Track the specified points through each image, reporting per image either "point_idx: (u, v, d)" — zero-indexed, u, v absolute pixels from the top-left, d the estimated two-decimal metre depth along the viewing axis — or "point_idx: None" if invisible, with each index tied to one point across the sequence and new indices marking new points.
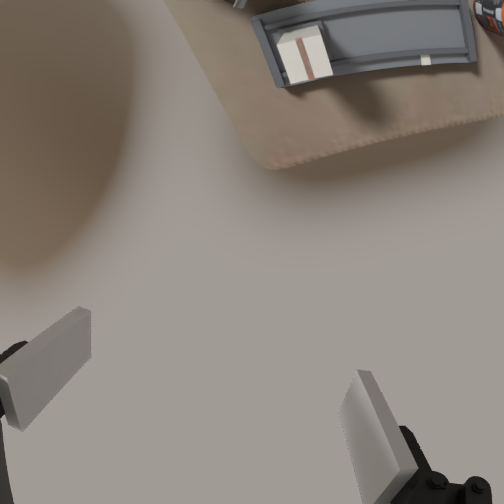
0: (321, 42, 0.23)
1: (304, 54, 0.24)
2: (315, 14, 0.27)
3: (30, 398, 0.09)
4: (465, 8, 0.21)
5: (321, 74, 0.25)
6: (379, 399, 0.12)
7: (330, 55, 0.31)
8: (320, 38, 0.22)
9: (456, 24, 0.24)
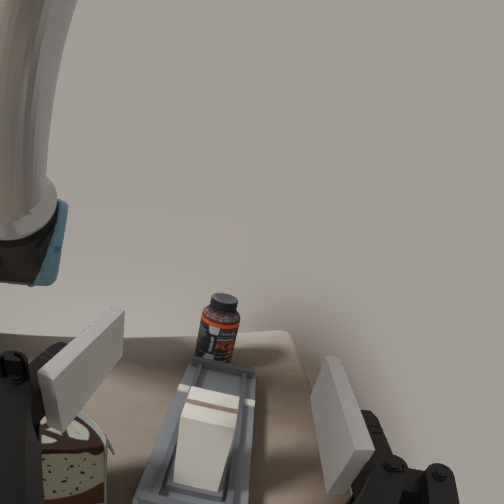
0: (199, 389, 0.24)
1: (205, 404, 0.22)
2: (168, 450, 0.26)
3: (71, 398, 0.10)
4: (206, 360, 0.44)
5: (235, 403, 0.23)
6: (344, 383, 0.12)
7: None
8: (195, 387, 0.24)
9: (219, 374, 0.43)
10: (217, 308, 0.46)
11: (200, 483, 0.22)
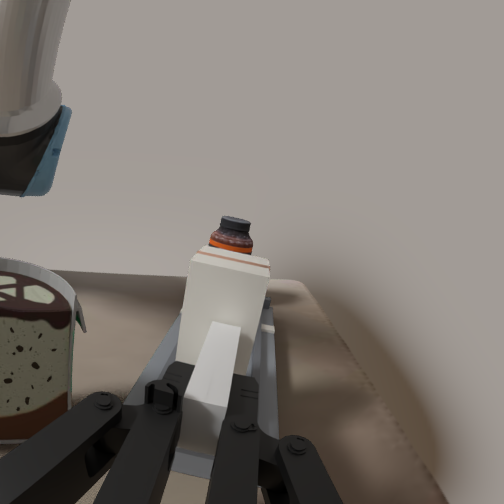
0: (215, 248, 0.20)
1: (224, 257, 0.18)
2: (166, 366, 0.22)
3: None
4: None
5: (264, 262, 0.19)
6: (230, 348, 0.14)
7: None
8: (209, 247, 0.20)
9: None
10: (228, 228, 0.42)
11: None
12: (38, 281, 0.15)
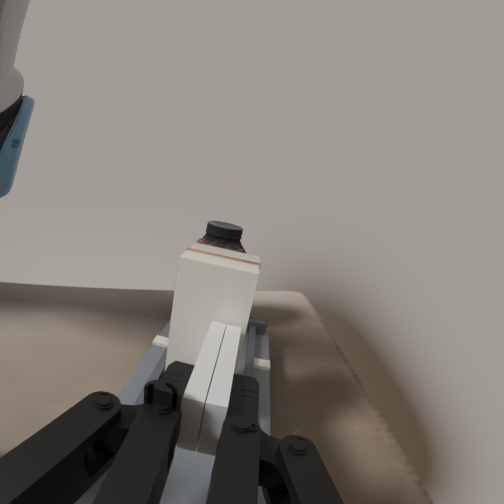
0: (207, 245, 0.19)
1: (215, 254, 0.18)
2: None
3: None
4: None
5: (255, 259, 0.19)
6: (231, 348, 0.14)
7: None
8: (201, 244, 0.20)
9: None
10: (215, 235, 0.34)
11: None
12: None
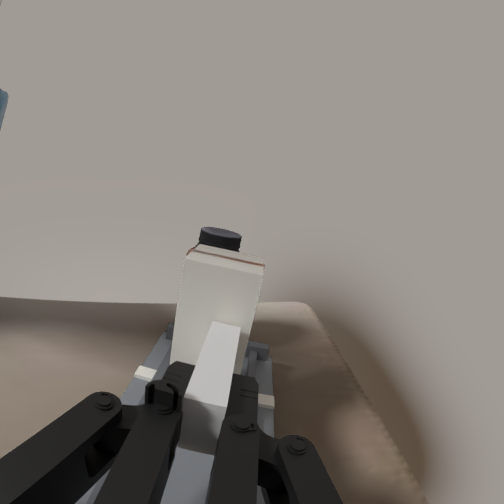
0: (210, 246, 0.19)
1: (219, 255, 0.18)
2: (92, 499, 0.09)
3: None
4: None
5: (259, 260, 0.19)
6: (230, 348, 0.14)
7: None
8: (204, 245, 0.20)
9: None
10: (209, 244, 0.29)
11: None
12: None
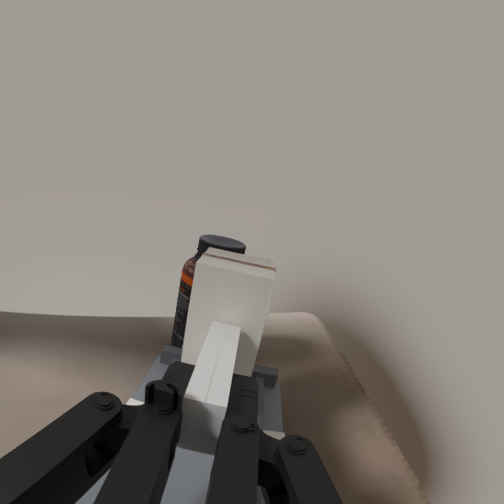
0: (220, 250, 0.20)
1: (230, 259, 0.18)
2: None
3: None
4: None
5: (269, 264, 0.19)
6: (230, 348, 0.14)
7: None
8: (214, 248, 0.20)
9: None
10: None
11: None
12: None
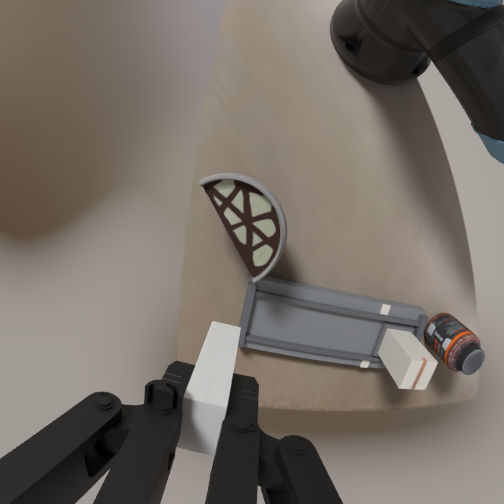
0: (434, 367, 0.32)
1: (420, 372, 0.32)
2: (302, 302, 0.40)
3: None
4: (421, 330, 0.40)
5: (419, 387, 0.32)
6: (230, 348, 0.14)
7: None
8: (436, 364, 0.32)
9: None
10: (462, 353, 0.33)
11: (383, 346, 0.40)
12: (276, 248, 0.33)
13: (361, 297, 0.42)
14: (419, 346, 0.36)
